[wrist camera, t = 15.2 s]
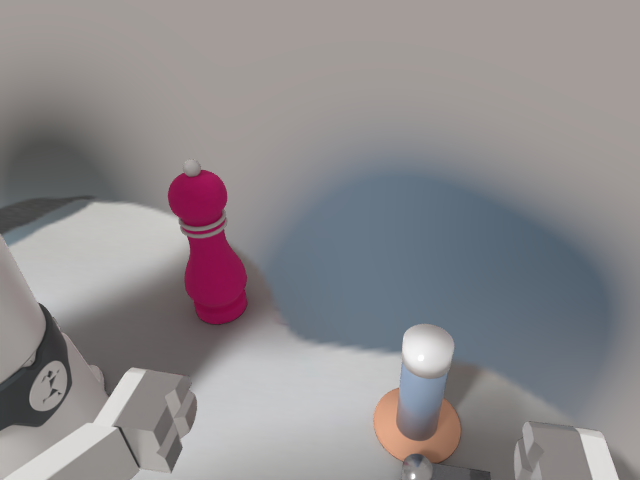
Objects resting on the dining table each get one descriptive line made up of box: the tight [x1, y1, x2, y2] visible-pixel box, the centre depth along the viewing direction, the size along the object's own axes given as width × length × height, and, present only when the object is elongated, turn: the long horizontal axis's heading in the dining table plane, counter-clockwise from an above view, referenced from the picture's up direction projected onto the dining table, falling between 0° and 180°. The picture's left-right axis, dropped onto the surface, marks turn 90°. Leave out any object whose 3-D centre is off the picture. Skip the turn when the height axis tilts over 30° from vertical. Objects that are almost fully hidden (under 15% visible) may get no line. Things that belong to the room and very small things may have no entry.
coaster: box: [374, 388, 461, 464], centre depth 43 cm, size 8×8×1 cm
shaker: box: [396, 324, 454, 441], centre depth 40 cm, size 4×4×11 cm
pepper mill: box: [168, 159, 247, 324], centre depth 52 cm, size 7×7×20 cm
